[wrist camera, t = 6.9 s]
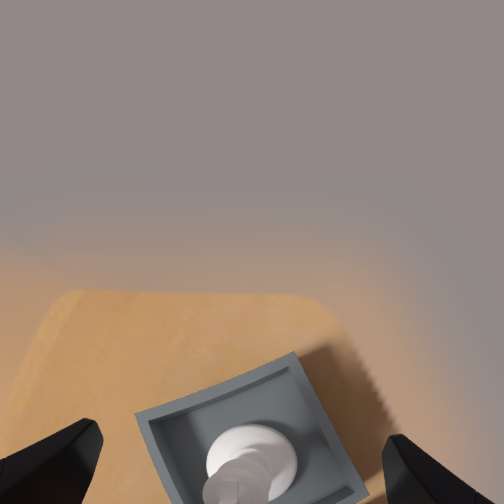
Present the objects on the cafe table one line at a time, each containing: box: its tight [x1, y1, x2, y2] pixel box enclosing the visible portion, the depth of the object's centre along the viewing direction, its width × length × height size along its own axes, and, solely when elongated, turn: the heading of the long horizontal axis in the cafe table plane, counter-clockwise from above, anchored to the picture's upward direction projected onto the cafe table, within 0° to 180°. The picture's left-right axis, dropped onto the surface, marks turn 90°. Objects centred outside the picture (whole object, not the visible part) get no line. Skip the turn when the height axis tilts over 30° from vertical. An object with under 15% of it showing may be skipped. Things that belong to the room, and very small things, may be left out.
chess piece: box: [202, 424, 298, 504], centre depth 9 cm, size 5×5×10 cm
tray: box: [135, 351, 370, 504], centre depth 13 cm, size 9×9×2 cm
